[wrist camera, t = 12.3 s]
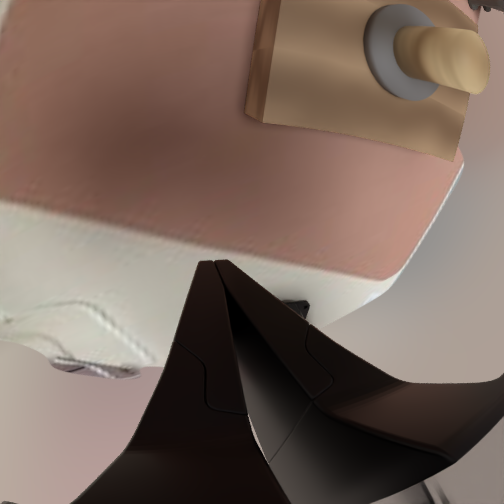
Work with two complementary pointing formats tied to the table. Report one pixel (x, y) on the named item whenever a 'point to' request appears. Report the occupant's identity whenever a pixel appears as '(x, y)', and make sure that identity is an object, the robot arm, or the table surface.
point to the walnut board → (346, 76)
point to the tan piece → (422, 54)
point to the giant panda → (487, 4)
